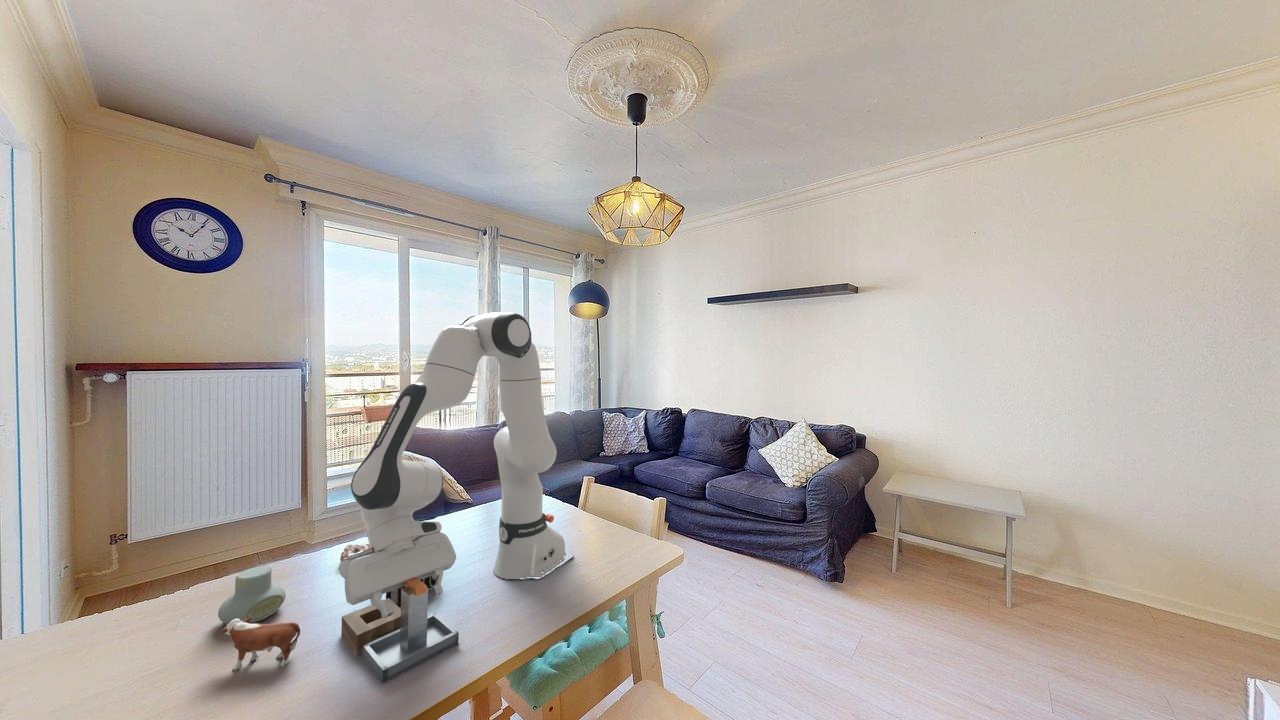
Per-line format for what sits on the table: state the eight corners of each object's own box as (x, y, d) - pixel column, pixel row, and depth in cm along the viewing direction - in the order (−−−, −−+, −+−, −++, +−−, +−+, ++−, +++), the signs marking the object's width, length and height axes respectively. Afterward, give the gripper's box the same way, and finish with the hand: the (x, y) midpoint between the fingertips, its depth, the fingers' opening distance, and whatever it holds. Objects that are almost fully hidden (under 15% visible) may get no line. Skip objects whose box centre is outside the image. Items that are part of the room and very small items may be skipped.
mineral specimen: (393, 547, 125) (390, 532, 121) (386, 571, 118) (384, 556, 115) (346, 551, 121) (342, 536, 117) (336, 576, 115) (332, 561, 111)
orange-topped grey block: (416, 635, 87) (417, 573, 87) (429, 648, 83) (431, 584, 83) (397, 643, 84) (399, 580, 84) (410, 657, 81) (411, 591, 81)
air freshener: (233, 637, 86) (234, 588, 86) (209, 627, 89) (210, 580, 89) (292, 608, 97) (293, 564, 97) (269, 600, 99) (270, 557, 99)
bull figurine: (230, 655, 81) (231, 613, 81) (304, 653, 82) (305, 611, 82) (209, 672, 77) (210, 628, 77) (288, 670, 78) (289, 626, 78)
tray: (435, 623, 92) (435, 612, 92) (458, 643, 86) (458, 632, 86) (362, 657, 81) (362, 645, 81) (382, 683, 75) (383, 670, 75)
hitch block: (388, 615, 95) (389, 597, 95) (405, 632, 89) (406, 614, 89) (341, 635, 88) (341, 616, 88) (356, 655, 82) (357, 635, 82)
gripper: (341, 550, 80) (358, 623, 74) (447, 519, 96) (468, 577, 90) (333, 566, 83) (349, 637, 77) (437, 534, 99) (457, 590, 93)
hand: (414, 604), depth 83 cm, fingers open, 8 cm apart
